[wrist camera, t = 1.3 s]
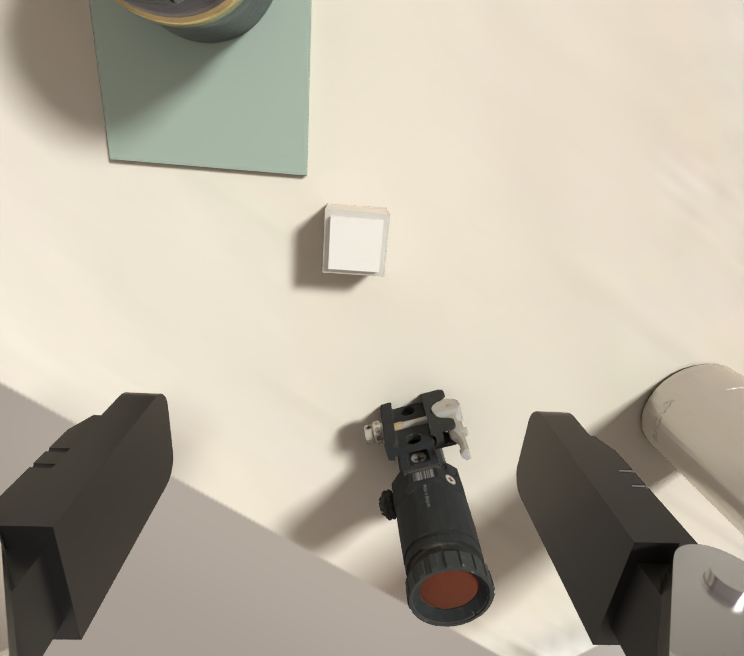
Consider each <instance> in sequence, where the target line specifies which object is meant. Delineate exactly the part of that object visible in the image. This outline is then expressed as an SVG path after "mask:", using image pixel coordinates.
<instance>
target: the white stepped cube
mask: <svg viewBox="0 0 744 656" xmlns="http://www.w3.org/2000/svg"><path fill="white" fill-rule="evenodd" d="M389 218H390V213H389V211H388V210H387V208H381V207H369V206H356V205H343V204H331V203H328V204H327V206H326V208H325V222H324V246H323V271H322V272H324V273H339V274H353V275H368V276H382V277H384V272H385V261H386V250H387V240H388V229H389Z"/></svg>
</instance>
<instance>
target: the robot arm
mask: <svg viewBox="0 0 744 656" xmlns="http://www.w3.org/2000/svg"><path fill="white" fill-rule="evenodd" d="M642 429H643V432H644V435H645V437H646V438H647V440H648V441H649V442H650V443H651V444H652V445H653V446H654V447H655V448H656V449H657V450H658V451H659V452H660V453H661V454H662V455H663V456H664V457H665V458H666V459H667V460H668V461H669V462H670V463H671V464H672V465H673V466H674V467H675V468H676V469H677V470H678V471H679V472H680V473H681V474H682V475H683V476H684V477H685V478H686V479H687V480H688V481H689V482H690V483H691V484H692V485H693V486H694V487H695V488H696V489H697V490H698V491H699V492H700V493H701V494H702V495H703V496H704V497H705V498H706V499H707V500H708V501H709V502H710V503H711V504H712V505H713V506H714V507H715V508H716V509H717V510H718V511H719V512H721V513H722V514H723V515H724V516H725V517H726V518H727V519H728V520H729V521H730V522H731V523H732V524H733V525H734V526H735V527H736V528H737V529H738V530H739V531H740V532H741V533H742V534H743V535H744V376H742V375H740V374H738V373H737V372H735V371H733V370H732V369H730V368H728V367H725V366H721V365H716V364H703V365H696V366H692V367H689V368H686V369H683V370H681V371H679V372H677V373H675V374H673V375H672V376H671V377H669V378H668V379H666V380H665V381H663V382H662V383H661V384H660V385H659V386H658V387H657V388H656V389H655V390H654V392H653V393H652V394H651V396H650V397H649V399H648V401H647V403H646V405H645V407H644V410H643V414H642ZM172 465H173V449H172V440H171V431H170V422H169V412H168V404H167V400H166V397H165V396H164V395H163V394H151V393H128V392H126V393H123V394H121V395H120V396H119V397H118V398H117V399H116V400H115V401H114V402H113V404H112V405H111V406H110V407H109V408H108V409H107V410H106V411H105V412H104V413H103V414H102V415H93V416H91V417H89V418H88V419H86V420H84V421H82V422H80V423H79V424H77V425H75V426H73V427H72V428H70V429H68V430H67V431H66V432H65V433H64V434H63V435H62V436H61V437H60V438H59V439H58V440H57V441H56V442H55V443H54V444H53V445H52V446H51V447H50V448H49V451H48V452H44V453H43V455H41V456H40V457H39V459H37V460H36V461H35V462H34V465H33V467H29V468H28V469H27V470H26V471H25V472H24V473H23V474H22V475H21V476H20V477H19V478H18V479H17V480H16V481H15V482H14V483H13V484H12V485H11V486H10V487H9V488H8V489H7V490H6V491H5V492H4V493H3V494H2V495H1V496H0V656H43V654H44V653H45V651H46V649H47V648H48V646H49V645H50V643H51V641H52V640H53V639H70V640H71V639H73V640H74V639H75V640H77V639H79V640H80V639H82V638H83V636H84V634H85V632H86V631H87V629H88V627H89V625H90V623H91V621H92V620H93V618H94V616H95V614H96V612H97V610H98V609H99V607H100V605H101V603H102V602H103V600H104V598H105V596H106V594H107V592H108V590H109V589H110V587H111V585H112V583H113V581H114V580H115V578H116V576H117V574H118V572H119V571H120V569H121V567H122V565H123V563H124V562H125V560H126V558H127V556H128V554H129V553H130V550H131V549H132V547H133V545H134V544H135V542H136V540H137V538H138V536H139V534H140V533H141V531H142V529H143V527H144V525H145V524H146V522H147V520H148V518H149V516H150V514H151V513H152V511H153V509H154V507H155V505H156V504H157V502H158V500H159V498H160V496H161V494H162V493H163V491H164V489H165V487H166V485H167V483H168V481H169V478H170V475H171V471H172ZM516 476H517V487H518V491H519V494H520V497H521V499H522V501H523V503H524V505H525V507H526V509H527V511H528V513H529V515H530V517H531V519H532V521H533V523H534V525H535V527H536V529H537V531H538V533H539V536H540V538H541V540H542V542H543V544H544V546H545V548H546V550H547V552H548V554H549V556H550V558H551V560H552V562H553V564H554V566H555V568H556V570H557V572H558V574H559V576H560V578H561V580H562V582H563V584H564V587H565V589H566V591H567V593H568V595H569V597H570V599H571V601H572V603H573V605H574V607H575V609H576V611H577V613H578V615H579V617H580V619H581V621H582V623H583V625H584V627H585V629H586V631H587V633H588V635H589V637H590V640H591V642H592V644H593V645H621V647H622V649H623V651H624V653H625V655H626V656H744V561H742V560H741V559H739V558H737V557H735V556H733V555H731V554H729V553H727V552H725V551H722V550H720V549H717V548H714V547H710V546H706V545H701V544H698V543H697V542H696V541H695V540H694V539H693V538H692V537H691V536H690V534H689V533H688V532H687V531H686V530H685V529H684V528H683V526H682V525H681V524H680V523H679V522H678V521H677V520H676V519H675V517H674V516H673V515H672V514H671V513H670V512H669V511H668V509H667V508H666V507H665V506H664V505H663V504H662V503H661V502H660V500H659V499H658V498H657V497H656V496H655V495H654V494H653V493H652V491H651V490H650V489H649V488H646V487H645V483H644V482H643V481H642V480H641V479H640V478H639V477H638V476H637V474H636V473H632V469H631V468H630V466H629V465H628V464H627V463H626V462H625V461H624V460H623V459H622V457H621V456H620V455H619V454H618V453H617V452H616V451H615V450H613V449H612V448H610V447H609V446H607V445H606V444H605V443H603V442H602V441H600V440H599V439H597V438H596V437H594V436H590V435H589V434H588V433H587V432H586V430H585V429H584V428H583V427H582V426H581V425H580V423H579V422H578V421H577V420H576V419H575V417H574V416H573V415H572V414H570V413H562V412H539V411H536V412H533V413H532V415H531V416H530V418H529V422H528V426H527V430H526V434H525V438H524V442H523V446H522V450H521V454H520V458H519V462H518V466H517V475H516Z"/></svg>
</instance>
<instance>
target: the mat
mask: <svg viewBox="0 0 744 656" xmlns="http://www.w3.org/2000/svg"><path fill="white" fill-rule="evenodd" d="M89 2H90V10H91V18H92V25H93V33H94V40H95V48H96V56H97V63H98V71H99V79H100V86H101V94H102V101H103V109H104V117H105V124H106V132H107V140H108V147H109V155H110V159H116V160H128V161H140V162H152V163H164V164H176V165H188V166H199V167H211V168H223V169H235V170H247V171H259V172H271V173H283V174H295V175H307V155H308V115H309V75H310V34H311V0H273V1H272V3H271V5H270V7H269V8H268V10H267V12H266V13H265V15H264V16H263V17H262V18H261V20H260V21H259V22H258V23H257V24H256V25H255V26H254V27H253V28H252V29H250V30H249V31H247V32H246V33H245V34H243V35H241V36H239V37H237V38H235V39H232V40H229V41H226V42H220V43H200V42H194V41H190V40H187V39H184V38H181V37H179V36H177V35H175V34H173V33H171V32H170V31H168V30H167V29H165V28H163V27H162V26H160V25H159V24H157V23H155V22H152V21H149V20H147V19H144V18H142V17H140V16H138V15H136V14H135V13H133V12H131V11H130V10H128V9H127V8H125V7H123V6H122V5H120V4H119V3H117V2H116V1H114V0H89Z"/></svg>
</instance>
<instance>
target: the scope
mask: <svg viewBox="0 0 744 656" xmlns="http://www.w3.org/2000/svg"><path fill="white" fill-rule="evenodd" d="M420 395H421V398H422V402H423V403H417V404H413V405H409V406H405V407H401V408H397V409H392V408H391V403H387V404H383V405H381V416H382V423H380V422H379V421H378V420H377V421H373V422H372V424H369V425H365V426H364V433H365V438H366V440H367V443H368V444H371V443H375V442H376V443H377V444H379V443H384V444H385V448H386V452H387V455H388V458H389V460H391V461H392V460H395V456H398V463H399V470H400V472H399V474H398V475H397V477H396V478H395V480H394V481H393V483H392V491H393V493H392V491H391V490H389V489H388V490H387V491H383V492H382V494H381V497H380V498H379V501H380V502H379V506H380V510H381V511H382V512H383V513H382V515H384V516H386V518H387V519H388V520H392V519H396V517H397V523H398V529H399V535H400V541H401V548H402V554H403V560H404V565H405V570H406V575H407V579H406V594H407V601H408V606H409V608H410V609H411V610H412V612H413V614H414V615H415V616H416V617H417V618H419V619H420V620H422V621H423V622H426V623H428V624H431V625H435V626H447V627H449V626H457V625H462V624H465V623H468V622H471V621H472V620H474V619H476V618H478V617H479V616H481V615H482V614H483V613H484V612H486V610H487V609H488V608H489V607H490V605H491V603H492V601H493V599H494V595H495V594H494V590H495V588H494V584H493V581H492V577H491V574H490V571H489V570H488V568H487V565H486V564H485V563H484V559H483V555H482V552H481V548H480V544H479V540H478V536H477V533H476V529H475V526H474V522H473V519H472V516H471V512H470V509H469V506H468V503H467V500H466V496H465V492H464V489H463V486H462V483H461V480H460V477H459V474H458V471H457V468H455V467H453V466H451V465H449V464H447V463H446V461H445V458H444V454H443V451H442V448H443V447H448V446H452V445H456V444H459V445H460V448H461V449H460V453H461V456H462V458H464V459H466V460H469V459H470V458H471V457H470V453H469V448H468V445H467V442H466V439H465V436H468V431H467V427H465V428H463V425H462V420H463V417H462V413H461V408H460V404H459V402H458V401H457V400H455V399H445V400H442V399H443V398H444V397H445V395H444V392H443V390H436V391H432V392H428V393H424V394H420ZM440 400H442V401H440ZM438 401H439V402H438ZM436 402H437V403H436ZM409 412H413V414H410V415H408V416H406V415H404V414H406V413H409ZM445 431H448V432H445Z"/></svg>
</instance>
